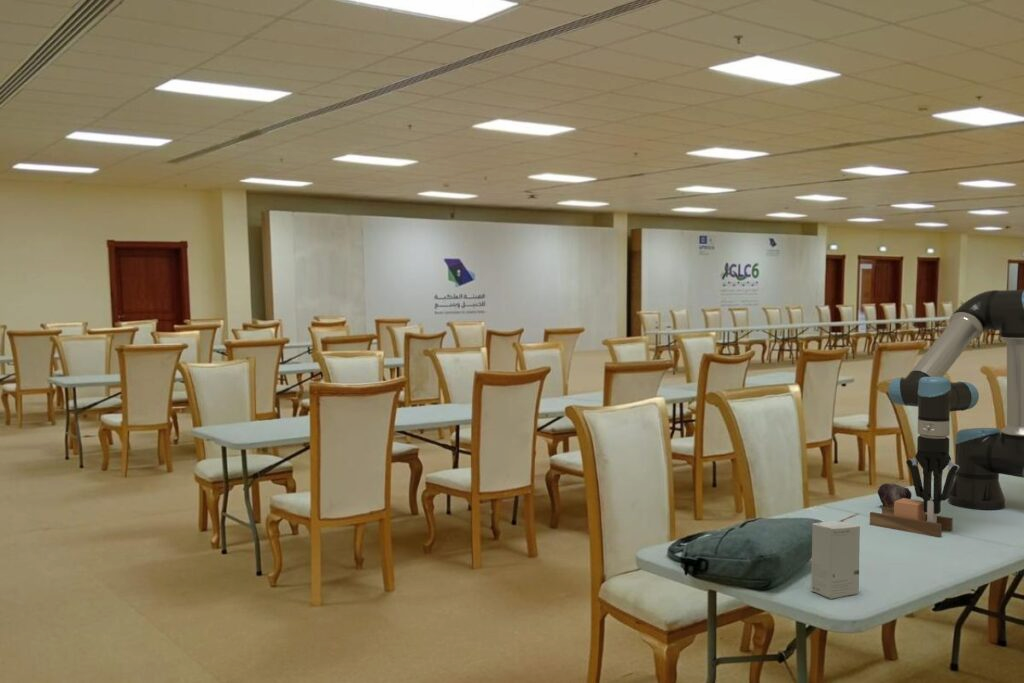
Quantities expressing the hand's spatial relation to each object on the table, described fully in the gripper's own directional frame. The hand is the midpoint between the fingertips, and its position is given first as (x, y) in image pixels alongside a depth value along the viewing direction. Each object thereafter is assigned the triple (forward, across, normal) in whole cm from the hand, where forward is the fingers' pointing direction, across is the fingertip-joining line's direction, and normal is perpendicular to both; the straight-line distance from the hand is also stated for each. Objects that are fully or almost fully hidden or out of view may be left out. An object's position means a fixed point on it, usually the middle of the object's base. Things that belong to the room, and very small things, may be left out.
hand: (931, 525), depth 226 cm
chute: (+3, -9, 0) cm, 10 cm away
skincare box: (+3, +2, -60) cm, 60 cm away
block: (+2, -6, 0) cm, 6 cm away
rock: (+3, -17, +19) cm, 26 cm away
